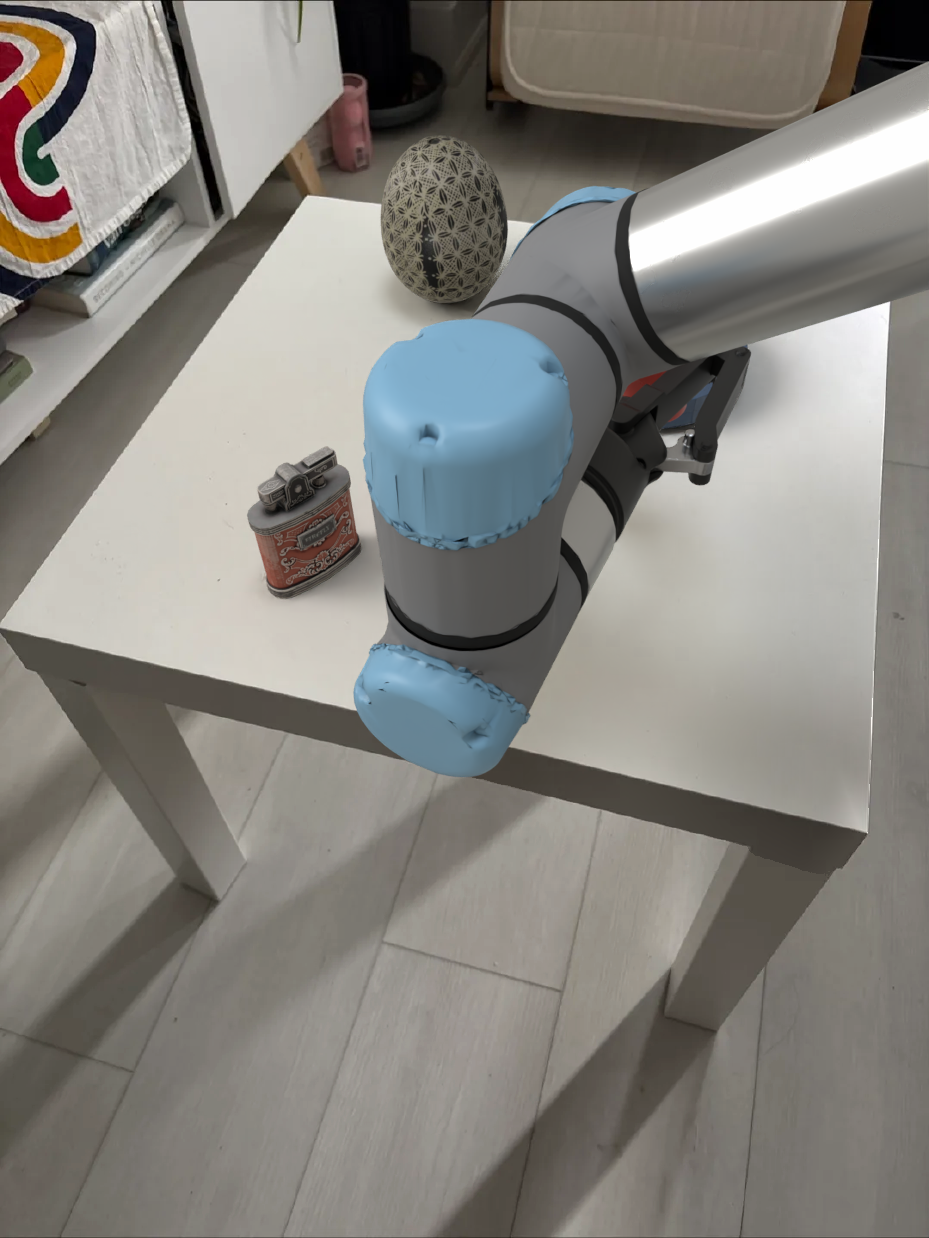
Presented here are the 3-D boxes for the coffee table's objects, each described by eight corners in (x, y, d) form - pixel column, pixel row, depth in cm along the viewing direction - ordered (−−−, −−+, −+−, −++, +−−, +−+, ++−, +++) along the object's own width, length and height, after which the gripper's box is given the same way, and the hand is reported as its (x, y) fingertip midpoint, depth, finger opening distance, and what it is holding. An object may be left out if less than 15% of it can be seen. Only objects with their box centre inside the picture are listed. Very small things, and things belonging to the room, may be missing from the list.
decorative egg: (495, 335, 90) (494, 178, 79) (374, 323, 92) (356, 168, 80) (516, 266, 98) (519, 113, 86) (404, 256, 99) (391, 104, 87)
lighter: (283, 606, 71) (257, 509, 63) (258, 581, 72) (228, 483, 64) (371, 551, 74) (355, 452, 66) (344, 528, 75) (326, 428, 68)
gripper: (407, 512, 56) (560, 299, 69) (705, 610, 51) (810, 361, 64) (397, 410, 51) (565, 199, 63) (732, 510, 45) (841, 258, 58)
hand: (688, 281), depth 64 cm, fingers closed on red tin, 5 cm apart
